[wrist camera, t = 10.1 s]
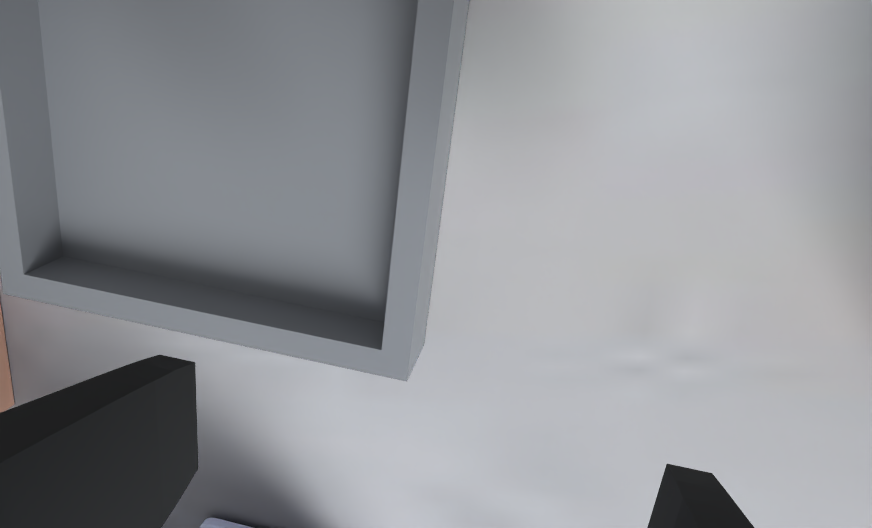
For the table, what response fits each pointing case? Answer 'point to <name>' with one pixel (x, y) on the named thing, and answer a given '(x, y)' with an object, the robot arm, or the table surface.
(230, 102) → the grey tray
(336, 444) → the table surface
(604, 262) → the table surface
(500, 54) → the table surface
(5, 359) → the terracotta tray
